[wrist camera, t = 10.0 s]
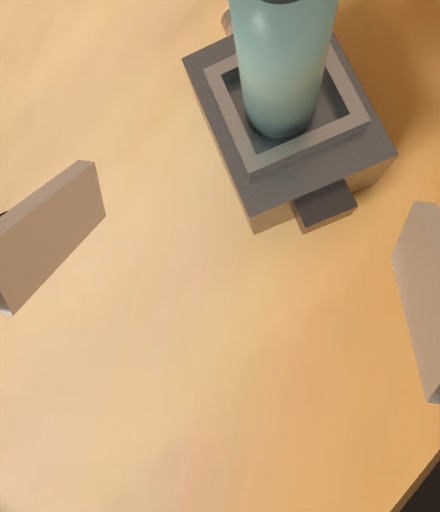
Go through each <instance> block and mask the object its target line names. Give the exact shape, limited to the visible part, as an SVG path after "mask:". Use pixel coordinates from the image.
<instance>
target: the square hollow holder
mask: <svg viewBox="0 0 440 512" xmlns="http://www.w3.org/2000/svg"><path fill="white" fill-rule="evenodd" d="M221 24H222V26H223V29H224V31H225V33H226V35H227V37H226V38H224V39H222V40H220V41H217V42H215V43H213V44H211V45H209V46H207V47H205V48H203V49H201V50H199V51H196V52H194V53H192V54H190V55H188V56H186V57H184V58H182V61H183V64H184V67H185V69H186V72H187V75H188V77H189V80H190V83H191V85H192V88H193V91H194V94H195V96H196V99H197V102H198V104H199V106H200V109H201V111H202V113H203V116H204V118H205V121H206V123H207V125H208V128H209V130H210V132H211V135H212V137H213V139H214V142H215V144H216V147H217V149H218V151H219V154H220V156H221V158H222V161H223V163H224V165H225V168H226V170H227V173H228V175H229V177H230V180H231V182H232V184H233V187H234V189H235V191H236V194H237V196H238V198H239V201H240V203H241V206H242V208H243V210H244V213H245V215H246V217H247V220H248V222H249V224H250V227H251V229H252V232H253V234H254V235H255V234H257V233H259V232H262V231H264V230H267V229H269V228H271V227H274V226H276V225H278V224H281V223H283V222H286V221H288V220H290V219H293V218H296V221H297V223H298V225H299V227H300V230H301V232H302V234H306V233H308V232H310V231H313V230H315V229H318V228H320V227H322V226H325V225H327V224H330V223H332V222H334V221H337V220H339V219H342V218H344V217H347V216H349V215H351V214H352V213H353V212H354V210H355V209H356V208H357V207H358V205H357V203H356V201H355V199H354V197H353V195H352V193H355V192H357V191H359V190H362V189H364V188H367V187H369V186H371V185H374V184H375V182H376V181H377V180H378V179H379V178H380V176H381V175H382V174H383V173H384V172H385V170H386V169H387V168H388V167H389V166H390V164H391V163H392V162H393V161H394V160H395V158H396V157H397V156H398V155H399V154H398V153H397V151H396V149H395V147H394V145H393V143H392V141H391V139H390V138H389V136H388V134H387V132H386V130H385V128H384V126H383V125H382V123H381V121H380V119H379V117H378V115H377V113H376V111H375V110H374V108H373V106H372V104H371V102H370V100H369V98H368V96H367V95H366V93H365V91H364V89H363V87H362V85H361V83H360V81H359V80H358V78H357V76H356V74H355V72H354V70H353V68H352V66H351V65H350V63H349V61H348V59H347V57H346V55H345V53H344V51H343V50H342V48H341V46H340V44H339V42H338V40H337V38H336V36H335V35H334V33H333V31H332V35H331V39H330V44H329V49H328V54H327V58H326V63H325V68H324V73H323V77H322V82H321V87H320V92H319V96H318V101H317V106H316V110H315V113H314V116H313V118H312V120H311V121H310V122H309V124H308V125H307V126H306V127H305V128H304V129H302V130H301V131H299V132H298V133H296V134H294V135H291V136H288V137H282V138H275V137H269V136H265V135H263V134H261V133H259V132H258V131H256V130H255V129H254V128H253V127H252V126H251V125H250V123H249V122H248V120H247V117H246V114H245V109H244V102H243V95H242V88H241V81H240V75H239V68H238V61H237V54H236V47H235V40H234V34H233V27H232V20H231V13H230V9H229V10H228V11H226V12H225V13H224V15H223V16H222V19H221Z"/></svg>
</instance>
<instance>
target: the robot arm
mask: <svg viewBox="0 0 440 512" xmlns="http://www.w3.org/2000/svg"><path fill="white" fill-rule="evenodd" d="M105 216H106V214H105V210H104V205H103V200H102V195H101V191H100V186H99V181H98V176H97V172H96V167H95V162H90V161H82V160H78V161H77V162H75V163H74V164H72V165H71V166H70V167H68V168H67V169H66V170H64V171H63V172H61V173H60V174H59V175H57V176H56V177H55V178H53V179H52V180H50V181H49V182H48V183H46V184H45V185H43V186H42V187H41V188H39V189H38V190H37V191H35V192H34V193H32V194H31V195H30V196H28V197H27V198H26V199H24V200H23V201H21V202H20V203H19V204H17V205H16V206H15V207H13V208H12V209H10V210H9V211H6V212H4V213H2V214H0V313H2V314H6V315H11V316H13V315H14V314H15V313H16V312H17V311H18V310H19V309H20V308H21V307H22V306H23V305H24V304H25V303H26V301H27V300H28V299H29V298H30V297H31V296H32V295H33V294H34V293H35V292H36V291H37V290H38V289H39V287H40V286H41V285H42V284H43V283H44V282H45V281H46V280H47V279H48V278H49V277H50V276H51V275H52V273H53V272H54V271H55V270H56V269H57V268H58V267H59V266H60V265H61V264H62V263H63V262H64V261H65V259H66V258H67V257H68V256H69V255H70V254H71V253H72V252H73V251H74V250H75V249H76V248H77V247H78V245H79V244H80V243H81V242H82V241H83V240H84V239H85V238H86V237H87V236H88V235H89V234H90V233H91V231H92V230H93V229H94V228H95V227H96V226H97V225H98V224H99V223H100V222H101V221H102V220H103V219H104V217H105ZM391 262H392V266H393V270H394V274H395V278H396V282H397V286H398V290H399V294H400V298H401V302H402V306H403V310H404V314H405V318H406V322H407V326H408V330H409V334H410V338H411V341H412V345H413V349H414V353H415V357H416V361H417V365H418V369H419V373H420V377H421V381H422V385H423V389H424V393H425V397H426V401H427V402H430V403H434V404H439V405H440V210H439V208H438V206H437V204H436V203H429V202H421V201H414V202H413V205H412V207H411V210H410V212H409V215H408V217H407V219H406V222H405V224H404V227H403V229H402V232H401V234H400V236H399V239H398V241H397V244H396V246H395V248H394V251H393V253H392V256H391ZM391 512H440V450H439V451H438V453H437V454H436V455H435V456H434V458H433V459H432V460H431V461H430V463H429V464H428V465H427V466H426V468H425V469H424V470H423V471H422V473H421V474H420V475H419V476H418V478H417V479H416V480H415V481H414V483H413V484H412V485H411V486H410V488H409V489H408V490H407V492H406V493H405V494H404V495H403V497H402V498H401V499H400V500H399V502H398V503H397V504H396V505H395V507H394V508H393V509H392V510H391Z"/></svg>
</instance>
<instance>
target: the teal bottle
mask: <svg viewBox="0 0 440 512" xmlns="http://www.w3.org/2000/svg"><path fill="white" fill-rule="evenodd" d="M338 2H339V0H229V6H230V13H231V20H232V27H233V34H234V40H235V47H236V54H237V61H238V68H239V75H240V81H241V88H242V95H243V102H244V109H245V114H246V117H247V120H248V122H249V123H250V125H251V126H252V127H253V128H254V129H255V130H256V131H258V132H259V133H261V134H263V135H265V136H269V137H275V138H282V137H288V136H291V135H294V134H296V133H298V132H299V131H301V130H302V129H304V128H305V127H306V126H307V125H308V124H309V122H310V121H311V120H312V118H313V116H314V113H315V110H316V106H317V101H318V96H319V92H320V87H321V82H322V77H323V73H324V68H325V63H326V58H327V54H328V49H329V44H330V39H331V35H332V30H333V25H334V20H335V16H336V11H337V6H338Z"/></svg>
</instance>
